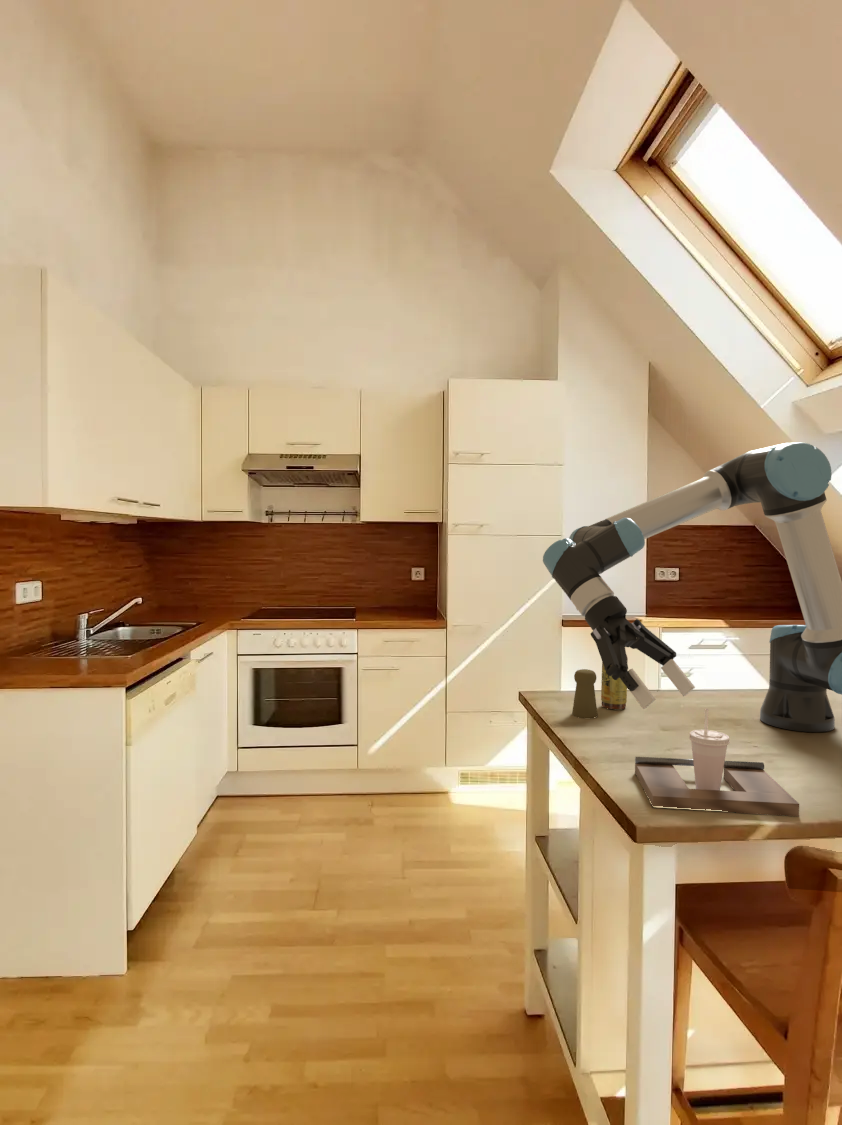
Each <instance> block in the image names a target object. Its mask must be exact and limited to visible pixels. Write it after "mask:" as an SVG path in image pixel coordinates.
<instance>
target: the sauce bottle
mask: <svg viewBox="0 0 842 1125" xmlns="http://www.w3.org/2000/svg"><path fill="white" fill-rule="evenodd" d="M626 657H627V663H629V662H628V654H626ZM612 665H613V664H611V666H612ZM627 671H629V669H628V670H627ZM600 689H601V691H600V692H601V693H600V694H601V695H600V700H601V706H603V707H602V708H604V707H605V708H604V709H607V708H608V709H607V710H612V709H622V710H625V709H626V707H627V705H626V704H627V702H628V700H627V698H628V688H627V687H626V686H625V684H624V683H623V682H622V680H621V679H620V678H618V679H617V680H614V679H613V678H612V676H609V675H607V673H606V671H605V668H604V665H603V662H602V661H601V688H600Z"/></svg>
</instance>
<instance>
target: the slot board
mask: <svg viewBox="0 0 842 1125" xmlns="http://www.w3.org/2000/svg"><path fill="white" fill-rule="evenodd" d="M634 774H635V775H637V776H636V778H637V777H638V778H637V780H638V779H639V780H638V782H639V781H640V782H639V784H640V783H641V784H640V786H641V785H642V786H641V788H642V787H643V788H644V790H645V792H646V794H647V796H648V797H649V799H650V801H651V803H652V805H653V806H663V807H677V808H691V809H705V810H706V809H711V810H722V811H728V812H736V813H735V814H747V815H748V814H749V815H750V814H751V815H764V814H766V815H767V814H768V815H767V816H782V815H785V817H800V803H799V802H798V801H797V800H796V799H795V798H794V797H793V796H792V795H791V794H789V793H788V791H786V790H785V789H784V788H783V786H782V785H780V784H779V783H778V782H777V781H776V780H775V779H774V778H773V777H772V776H770V774H768V773H767V771H766V770H763V769H742V768H723V779H724V780H725V781H726V782H727V783H728V784H729V786H730V787H731V786H732V787H733V788H734V789H733V788H732V787H731V788H732V789H733V790H721V789H720V790H702V789H696V788H689V787H688V785H687V784H686V782H685V781H684V779H683V778H682V776H681V775H680V774H679V772H678V771H677V769H676V768H675V765H659V764H638V763H635V762H634ZM643 788H642V789H643ZM644 790H643V791H644ZM645 792H644V793H645ZM646 794H645V795H646ZM647 796H646V797H647ZM728 812H727V813H728ZM786 815H787V816H786Z"/></svg>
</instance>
